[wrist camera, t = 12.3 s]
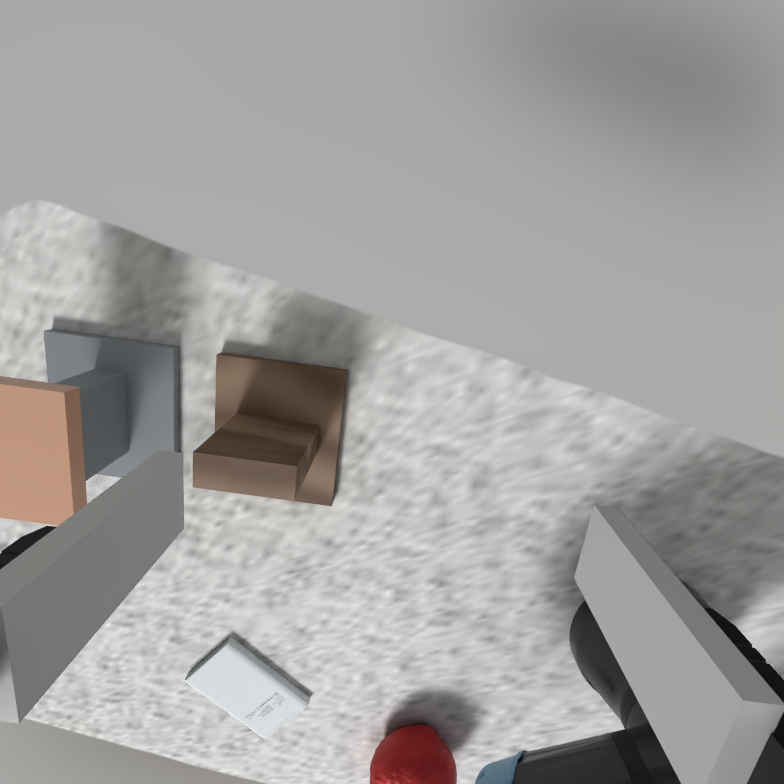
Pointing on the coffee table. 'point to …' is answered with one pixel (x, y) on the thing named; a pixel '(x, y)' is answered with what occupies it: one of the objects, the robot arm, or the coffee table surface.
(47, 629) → the robot arm
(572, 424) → the coffee table surface
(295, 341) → the coffee table surface
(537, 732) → the coffee table surface
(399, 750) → the pomegranate
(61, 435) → the terracotta tile
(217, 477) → the walnut stand
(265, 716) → the external hard drive
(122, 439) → the slate stand
